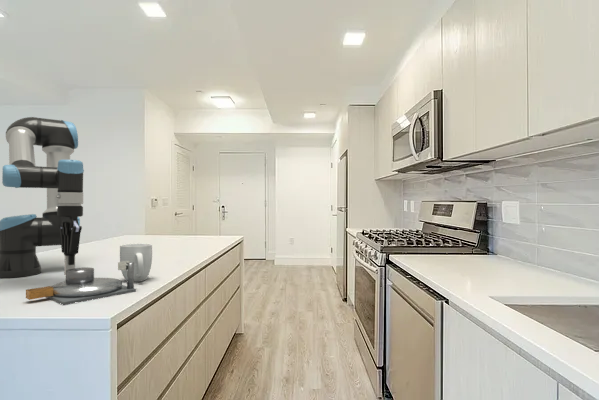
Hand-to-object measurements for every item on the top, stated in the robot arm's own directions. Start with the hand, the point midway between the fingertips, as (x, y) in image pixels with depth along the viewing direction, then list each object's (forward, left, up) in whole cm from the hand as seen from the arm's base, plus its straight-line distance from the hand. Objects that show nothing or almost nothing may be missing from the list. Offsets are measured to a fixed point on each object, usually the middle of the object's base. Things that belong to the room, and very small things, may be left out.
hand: (69, 274), depth 128 cm
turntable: (+14, -3, -3) cm, 14 cm away
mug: (+9, +19, -4) cm, 21 cm away
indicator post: (+21, +9, -4) cm, 23 cm away
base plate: (+14, 0, -4) cm, 14 cm away
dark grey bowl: (+8, 0, -2) cm, 9 cm away
